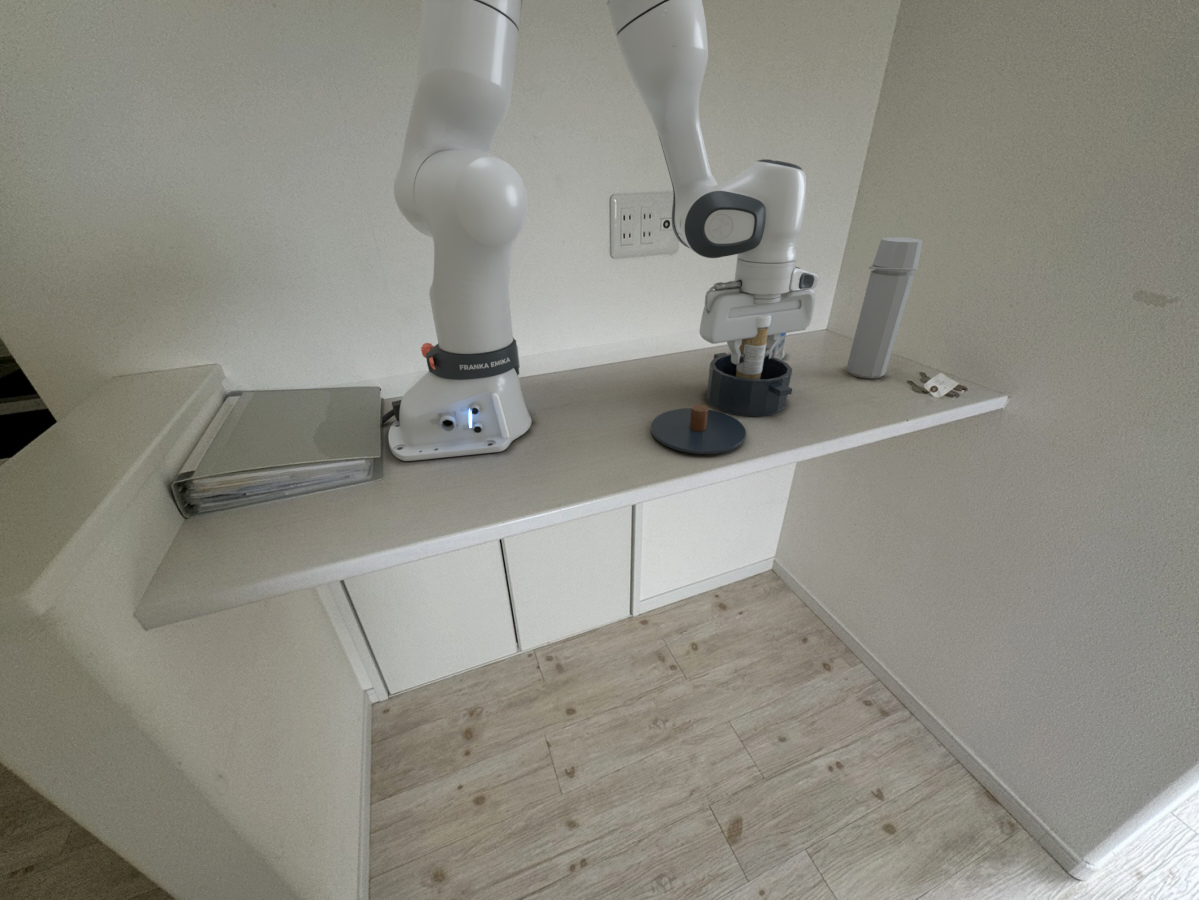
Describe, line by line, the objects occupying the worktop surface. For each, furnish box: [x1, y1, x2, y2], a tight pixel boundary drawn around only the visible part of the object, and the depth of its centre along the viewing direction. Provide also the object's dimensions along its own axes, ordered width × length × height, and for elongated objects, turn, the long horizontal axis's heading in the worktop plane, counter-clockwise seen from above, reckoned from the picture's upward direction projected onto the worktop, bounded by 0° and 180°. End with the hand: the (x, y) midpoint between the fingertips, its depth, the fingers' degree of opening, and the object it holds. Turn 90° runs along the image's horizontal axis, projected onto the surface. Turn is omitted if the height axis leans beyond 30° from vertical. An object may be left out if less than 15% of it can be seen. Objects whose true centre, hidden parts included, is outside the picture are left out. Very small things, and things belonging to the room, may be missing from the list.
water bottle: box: [846, 236, 924, 380], centre depth 94 cm, size 9×8×25 cm
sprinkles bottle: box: [736, 315, 771, 379], centre depth 85 cm, size 5×5×14 cm
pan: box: [706, 352, 793, 418], centre depth 88 cm, size 14×19×6 cm
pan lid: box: [650, 403, 747, 455], centre depth 77 cm, size 15×15×5 cm
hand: (750, 360), depth 86 cm, fingers closed on sprinkles bottle, 4 cm apart
